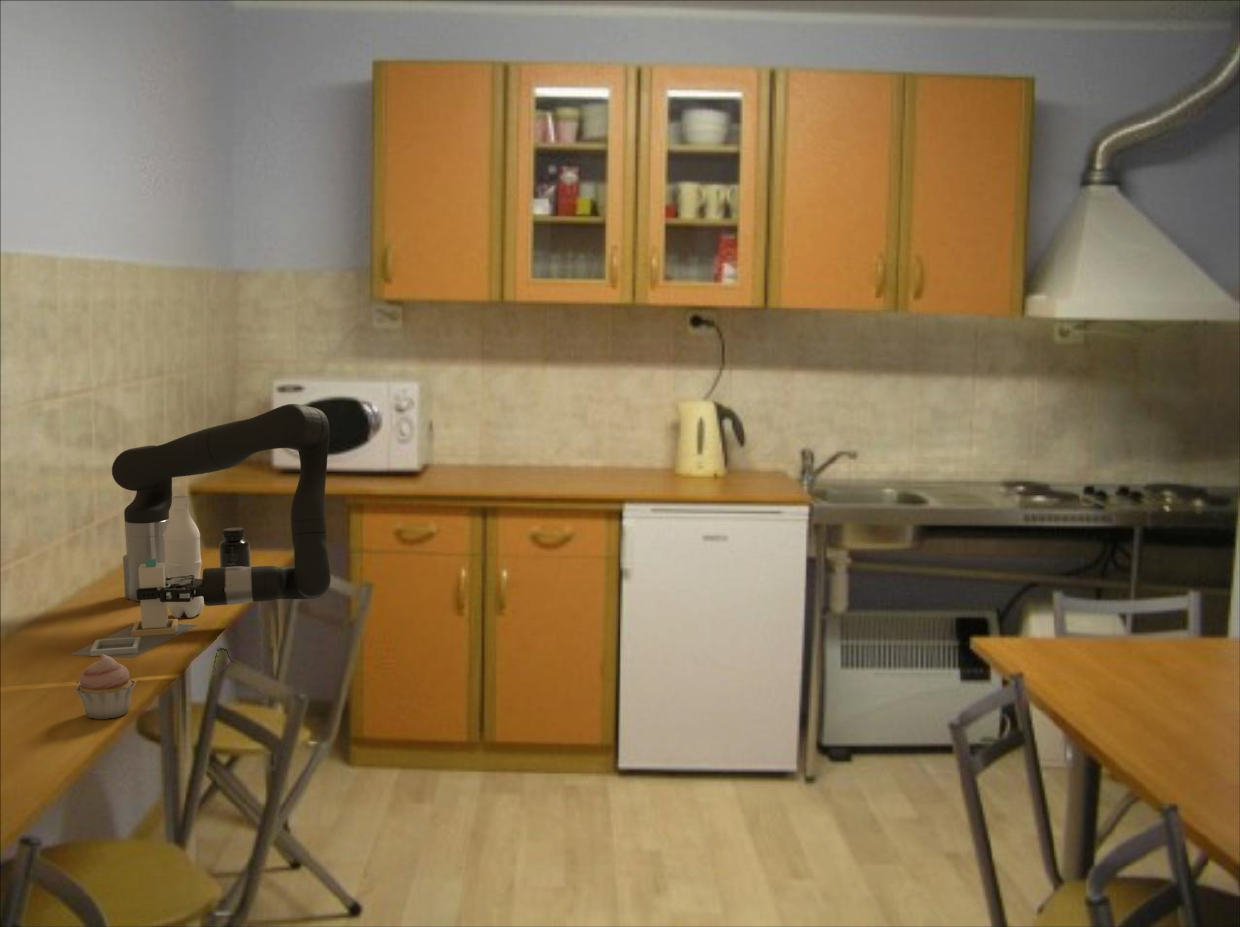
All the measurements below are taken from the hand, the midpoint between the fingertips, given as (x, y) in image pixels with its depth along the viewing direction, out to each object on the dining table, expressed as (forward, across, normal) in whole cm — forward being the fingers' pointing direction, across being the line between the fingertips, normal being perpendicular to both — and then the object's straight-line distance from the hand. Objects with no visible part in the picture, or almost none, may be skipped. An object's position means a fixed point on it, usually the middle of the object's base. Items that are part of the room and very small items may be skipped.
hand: (138, 591), depth 272 cm
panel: (0, +6, +9) cm, 11 cm away
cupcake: (0, +52, +9) cm, 52 cm away
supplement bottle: (-17, -45, +9) cm, 49 cm away
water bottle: (-8, -13, +9) cm, 18 cm away
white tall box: (-3, 0, +7) cm, 8 cm away
